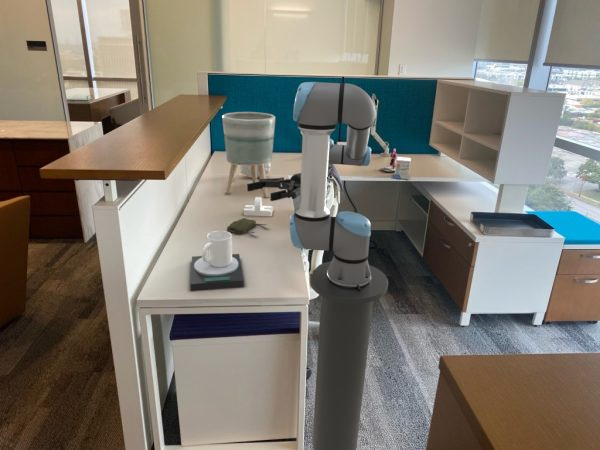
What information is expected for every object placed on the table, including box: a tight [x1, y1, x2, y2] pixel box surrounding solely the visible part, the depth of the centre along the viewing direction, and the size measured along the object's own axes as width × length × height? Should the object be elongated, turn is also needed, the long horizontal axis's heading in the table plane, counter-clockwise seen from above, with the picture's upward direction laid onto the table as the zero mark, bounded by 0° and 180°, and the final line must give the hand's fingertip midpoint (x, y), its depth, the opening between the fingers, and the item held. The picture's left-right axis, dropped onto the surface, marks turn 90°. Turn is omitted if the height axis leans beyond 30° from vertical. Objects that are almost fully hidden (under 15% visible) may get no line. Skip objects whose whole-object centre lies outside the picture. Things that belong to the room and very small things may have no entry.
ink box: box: [393, 156, 412, 180], centre depth 274 cm, size 9×8×12 cm
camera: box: [239, 162, 272, 179], centre depth 261 cm, size 11×18×16 cm, turn 97°
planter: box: [221, 111, 276, 198], centre depth 231 cm, size 26×26×40 cm
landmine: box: [226, 217, 268, 238], centre depth 191 cm, size 14×3×15 cm
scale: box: [190, 253, 245, 291], centre depth 153 cm, size 20×17×3 cm
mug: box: [201, 230, 233, 267], centre depth 152 cm, size 12×8×10 cm
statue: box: [379, 148, 398, 173], centre depth 286 cm, size 11×9×15 cm
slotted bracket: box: [243, 196, 274, 217], centre depth 208 cm, size 13×7×8 cm, turn 88°
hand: (259, 192), depth 157 cm, fingers open, 13 cm apart
